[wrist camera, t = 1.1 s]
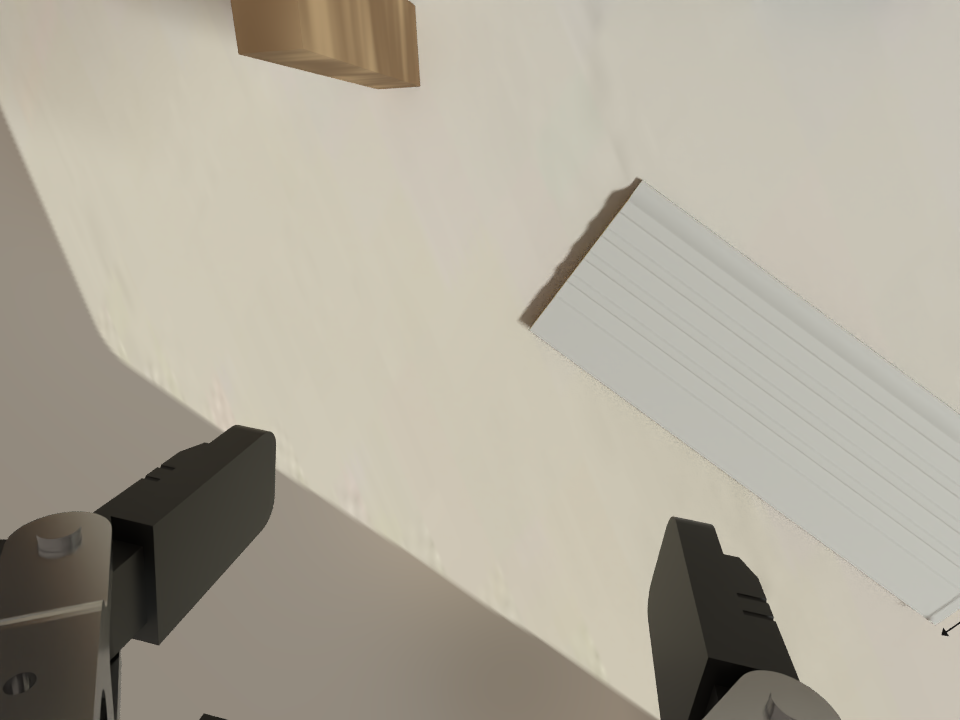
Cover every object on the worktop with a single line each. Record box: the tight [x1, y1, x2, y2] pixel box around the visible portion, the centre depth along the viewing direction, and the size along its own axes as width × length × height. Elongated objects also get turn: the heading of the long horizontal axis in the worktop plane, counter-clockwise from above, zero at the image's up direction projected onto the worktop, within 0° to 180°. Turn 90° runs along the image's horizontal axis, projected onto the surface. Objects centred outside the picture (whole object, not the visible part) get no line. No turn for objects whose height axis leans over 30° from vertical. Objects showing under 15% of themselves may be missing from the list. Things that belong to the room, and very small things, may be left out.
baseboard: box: [530, 180, 960, 636], centre depth 35 cm, size 31×3×12 cm
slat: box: [231, 0, 420, 89], centre depth 27 cm, size 2×4×14 cm, turn 3°
